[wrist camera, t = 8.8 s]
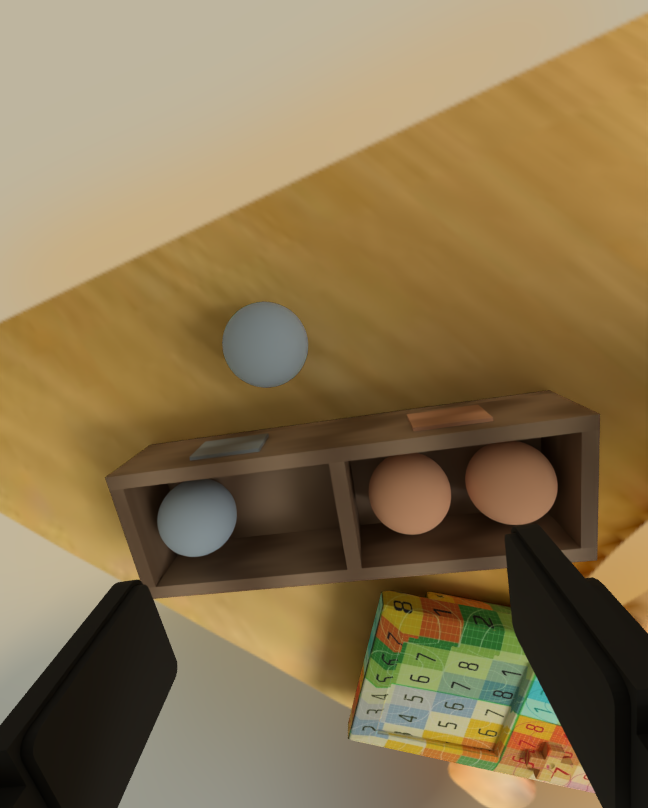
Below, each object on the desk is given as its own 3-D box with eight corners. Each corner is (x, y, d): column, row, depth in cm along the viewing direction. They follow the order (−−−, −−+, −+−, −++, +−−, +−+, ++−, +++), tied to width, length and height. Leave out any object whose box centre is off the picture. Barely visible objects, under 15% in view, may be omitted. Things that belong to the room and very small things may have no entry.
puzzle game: (645, 815, 25) (347, 754, 26) (600, 736, 30) (348, 686, 30) (725, 683, 22) (383, 616, 22) (662, 617, 26) (378, 563, 27)
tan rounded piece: (532, 424, 22) (576, 454, 18) (534, 493, 24) (576, 538, 19) (453, 434, 23) (477, 466, 19) (459, 501, 24) (482, 547, 20)
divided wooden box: (549, 386, 22) (599, 409, 18) (551, 510, 25) (597, 560, 20) (149, 442, 25) (103, 474, 21) (181, 548, 27) (147, 599, 23)
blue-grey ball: (236, 461, 25) (211, 497, 20) (252, 523, 26) (231, 570, 21) (170, 470, 25) (131, 507, 21) (188, 530, 26) (154, 577, 22)
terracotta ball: (437, 435, 23) (457, 468, 19) (444, 502, 24) (464, 548, 20) (362, 445, 24) (364, 479, 19) (372, 510, 25) (376, 556, 20)
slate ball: (304, 295, 22) (292, 294, 18) (318, 372, 23) (310, 389, 19) (229, 308, 23) (199, 311, 18) (246, 383, 24) (221, 402, 19)
